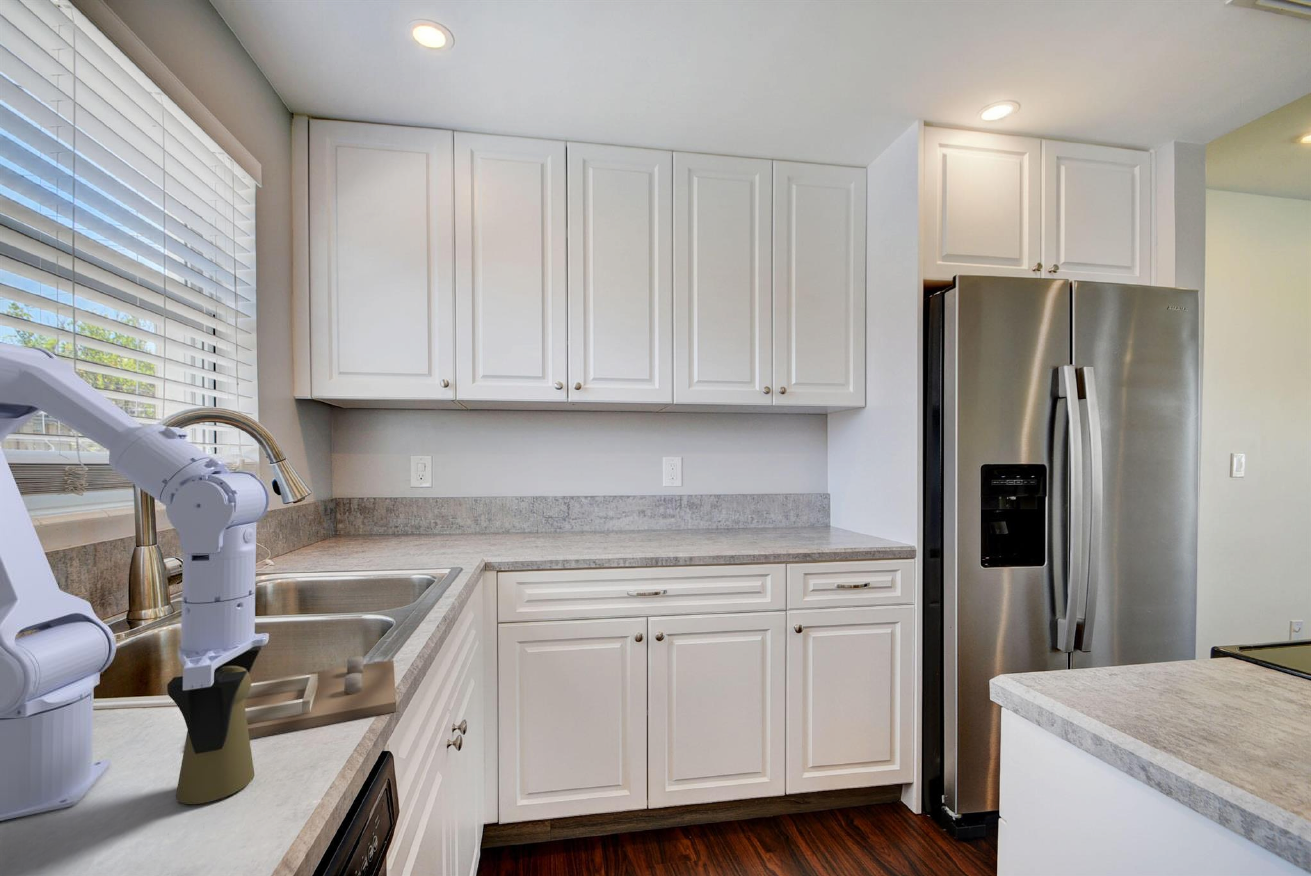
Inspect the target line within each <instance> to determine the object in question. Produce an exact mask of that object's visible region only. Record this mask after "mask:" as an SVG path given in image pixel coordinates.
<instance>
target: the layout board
mask: <svg viewBox="0 0 1311 876" xmlns="http://www.w3.org/2000/svg"><path fill="white" fill-rule="evenodd" d="M346 665H347V666H346V667H345V666H343V667H338V668H332V669H326V670H319V671H313V672H304V673H300V674H299V673H298V674H293V675H286V676H285V675H284V676H279V677H272V678H265V679H259V680H258V679H257V680H251V687H250V690H249V693H248V695H247V696H246V698H245V699H244V705H245V712H246V718H247V725H248V732H249V739H250V740H251V739H252V740H253V739H257V738H262V737H267V736H271V735H272V736H273V735H279V734H283V733H289V732H294V731H300V730H305V729H309V728H316V727H320V726H321V727H322V726H326V725H331V724H336V723H342V722H346V721H353V720H357V719H363V718H368V717H369V718H370V717H375V716H379V715H380V716H381V715H384V714H385V715H386V714H390V713H394V712H395V713H396V712H397V696H396V695H397V694H396V679H395V663H394V660H392V659H391V660H386V661H378V662H377V661H376V662H372V663H365V664H364V657H363V656H362V655H356V656H351V657H349V658H347V662H346Z"/></svg>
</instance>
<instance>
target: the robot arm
mask: <svg viewBox="0 0 1311 876" xmlns="http://www.w3.org/2000/svg"><path fill="white" fill-rule="evenodd" d="M41 412H43V413H45V414H46V415H48V416H50V417H52V418H54V419H55V420H57V421H58V422H60V423H61V424H62V425H63V424H64V425H65V426H67V427H68V428H70V429H72V430H73V431H75V432H77V433H79V434H80V435H82V436H84V437H85V438H87V439H88V440H90V441H92V442H94V443H96V444H97V445H99V446H101V447H102V448H104V449H106V450H108V451H109V455H108V462H109V463H108V464H109V466H110V469H112V471H114V472H116V473H117V474H118V475H120V476H122V477H123V478H125V480H127V481H129V482H130V483H131V484H133V485H135V486H136V487H137V488H139V489H140V490H141V491H144V492H145V494H147V495H149V496H151V498H153V499H155V500H157V501H158V502H160V503H161V504H162V505H164V506H165V512H166V516H167V519H168V520H169V523H170V524H171V525H172V527H173V528H174V529H175V530H176V532H177V533H178V539H179V540H178V543H179V544H178V548H179V549H182V579H181V580H182V583H181V584H182V585H181V623H180V624H181V626H180V627H181V628H180V629H181V630H180V645H179V647H178V648H177V649H178V650H177V658H178V659H179V660H180V663H181V664H182V666H183V668H182V676H175V677H173V678H172V679H171V680H169V682H168V683H167V685H166V691H167V695H168V697H169V698H171V699H172V701H173V702H174V703H175V704H176V706H177V707H178V709H179V711H180V714H181V715H182V716H183V720H184V722H185V726H186V728H187V731H188V733H189V737H190V740H191V744H192V747H193V750H194V752H195V754H199V753H204V752H210V751H215V750H220V749H222V748H223V746H224V743H225V741H226V737H227V734H228V729H229V723H230V718H231V712H232V707H233V703H234V700H235V697H236V694H237V691H238V689H239V686H240V684H241V682H242V680H243V678H244V677H245V675H246V673H247V671H248V673H249V674H250V673H251V671H252V669H253V668H252V667H253V665H254V663H255V661H256V659H257V658H258V655H259V653H260V651H261V650H262V646H265V645H267V643H268V641H269V639H270V634H269V633H266V632H264V633H262V632H261V633H255V632H256V631H255V630H256V625H255V623H256V574H257V573H256V569H257V567H256V565H257V523H258V522H259V521H260V520H262V519H263V518H264V516H265V515H266V514H267V512H268V509H269V506H270V494H269V490H268V488H267V486H266V485H265V483H264V482H263V481H262V480H261V479H260V478H259V477H258V476H257V474H255V473H254V472H251V471H246V470H233V471H231V470H229V468H227V467H226V466H227V465H228V463H227V462H226V461H225V460H224V459H222V458H221V457H212V456H210V455H209V454H207V453H206V452H204V451H203V450H202V449H200V448H199V447H197V446H196V445H195V444H193V443H191V442H190V441H189V440H187V439H186V438H187V437H188V436H189V434H188V432H186V431H185V430H183V429H182V428H181V427H178V426H166V425H162V424H150V425H149V424H148V425H142V424H141V423H139V421H137V420H136V419H135V418H134V417H132V416H131V415H129V413H127V412H125V410H123V409H122V408H121V407H119V406H118V405H116V403H115V402H113V401H112V400H110V399H109V398H108V397H106V396H105V395H104V394H102V393H101V392H100V391H99V390H97V389H96V388H95V387H93V386H92V385H91V384H90V383H88V382H87V381H86V380H85V379H83V378H81V376H80V375H78V374H77V373H75V366H73V364H71V363H69V362H67V361H65V360H63V359H59V358H58V356H56V355H55V354H54V353H53V352H51V351H49V350H47V349H45V348H42V347H37V346H23V345H16V344H12V343H5V342H0V822H1V821H5V820H11V819H15V818H20V817H24V816H30V815H35V814H39V813H45V812H49V811H55V810H60V809H64V808H68V807H72V806H74V805H76V804H77V803H78V802H79V801H80V800H81V799H82V798H83V797H84V795H85V794H86V793H87V792H88V791H89V789H91V787H92V786H93V785H94V784H95V782H97V780H99V778H100V777H101V776H102V775H103V773H104V772H106V770H107V769H108V768H109V767H110V765H111V760H109V759H107V760H106V759H105V760H100V761H93V751H94V750H93V748H94V745H93V743H94V739H93V738H94V730H93V729H94V694H95V693H94V688H95V687H96V686H98V685H100V681H101V679H100V678H101V677H100V676H101V675H100V674H101V673H102V672H104V671H106V669H107V668H108V667H109V666H110V665H111V663H112V662H113V661H114V658H115V656H116V652H117V642H116V637H115V634H114V632H113V631H112V629H111V628H110V627H109V626H108V625H107V624H106V623H105V622H103V621H102V620H101V619H99V617H98V616H97V615H96V613H95V611H94V609H93V607H92V605H91V602H89V601H88V600H86V599H83V598H80V597H78V596H76V595H74V594H71V593H67V592H65V591H62V590H61V589H60V588H59V587H60V586H59V585H58V582H57V580H56V577H55V575H54V573H53V569H52V567H51V565H50V563H49V561H48V557H47V555H46V553H45V550H44V549H43V546H42V544H41V541H40V538H39V536H38V534H37V531H36V529H35V527H34V524H33V522H32V520H31V517H30V514H29V512H28V509H27V507H26V505H25V501H24V500H23V498H22V495H21V492H20V490H19V487H18V485H17V483H16V481H15V477H14V475H13V473H12V471H11V468H10V465H9V463H8V461H7V458H6V455H5V453H4V450H3V448H2V445H3V444H2V443H3V442H4V441H5V439H6V438H7V437H8V436H9V435H11V434H14V433H16V432H18V431H19V430H20V429H21V428H23V427H24V426H25V425H27V423H29V422H30V421H31V420H32V419H33V418H35V417H36V416H37V415H38V414H39V413H41ZM30 631H36V632H32V633H29V634H26V635H22V636H19V637H16V636H17V635H20V634H23V633H25V632H26V633H27V632H30ZM224 666H239V667H242V668H245V669H246V670H247V671H242V672H235V673H227V674H225V670H224V671H222V667H224ZM250 675H251V674H250Z"/></svg>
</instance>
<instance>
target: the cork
mask: <svg viewBox="0 0 1311 876" xmlns="http://www.w3.org/2000/svg"><path fill="white" fill-rule="evenodd" d="M224 670H225V674H227V673H235V672H242V671H247V670H246V669H245V668H242V667H239V666H224V667H222V671H224ZM251 677H252V676H251V674H249V673H248V671H247V673H246V675H245V677H244V678H243V680H242V682H241V684H240V686H239V689H238V691H237V694H236V697H235V700H234V703H233V707H232V712H231V718H230V723H229V729H228V734H227V737H226V741H225V743H224V746H223V748H222V749H220V750H215V751H210V752H204V753H199V754H195V752H194V750H193V747H192V744H191V740H190V737H189V733H188V730H187V732H186V735H185V736H186V737H185V743H184V748H183V749H184V750H183V754H182V760H181V765H180V770H179V771H180V772H179V776H178V777H179V778H178V782H177V789H176V794H175V798H176V801H178V802H180V803H181V804H188V805H192V804H193V805H194V804H203V803H208V802H213V801H214V802H215V801H216V800H219V799H222V798H223V799H224V798H225V797H227V796H228V797H229V796H231V795H232V794H235V793H237V792H239V791H240V790H242V789H243V788H245V787H247V786H248V785H249V784H250V782H252V781H253V779H254V778H255V775H256V774H255V768H254V762H253V760H254V759H253V755H252V754H253V753H252V747H251V739H249V732H248V725H247V718H246V712H245V705H244V699H245V698H246V696H247V695H248V693H249V690H250V687H251V681H252V679H251Z"/></svg>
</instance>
